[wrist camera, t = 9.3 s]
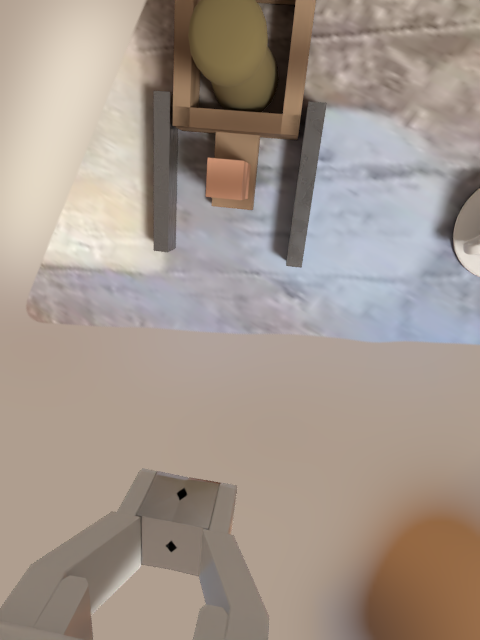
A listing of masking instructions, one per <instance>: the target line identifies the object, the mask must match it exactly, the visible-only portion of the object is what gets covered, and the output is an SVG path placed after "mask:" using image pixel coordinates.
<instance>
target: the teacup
mask: <svg viewBox="0 0 480 640" xmlns="http://www.w3.org/2000/svg"><path fill="white" fill-rule="evenodd" d="M453 244H454V249H455V253H456V255H457V257H458V259H459V261H460V262H461V264H462V265H463V266H464V267H465V268H466V269H467V270H468V271H469V272H471V273H472V274H474V275H476V276H478V277H480V188H479V189H478V190H477V191H476V192H475V193H474V194H473V195H472V196H471V197H470V198H469V199H468V200H467V202H466V203H465V204H464V206H463V207H462V209H461V211H460V213H459V215H458V217H457V220H456V223H455V226H454V232H453Z"/></svg>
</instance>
